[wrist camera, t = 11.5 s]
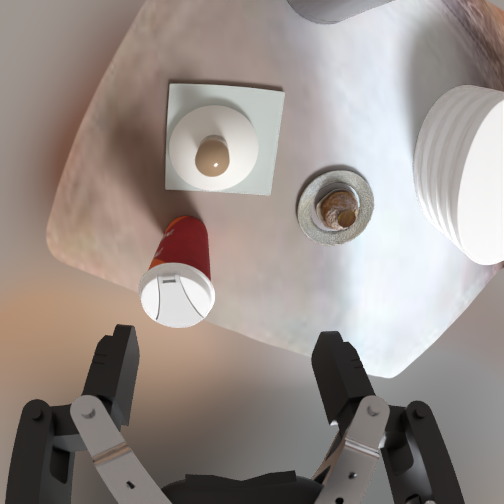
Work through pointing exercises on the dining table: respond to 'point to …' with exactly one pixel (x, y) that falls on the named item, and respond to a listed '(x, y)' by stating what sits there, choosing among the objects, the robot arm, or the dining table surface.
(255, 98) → the rubber mat
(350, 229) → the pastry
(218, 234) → the dining table surface
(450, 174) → the plate stack
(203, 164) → the cup lid
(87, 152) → the dining table surface
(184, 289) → the coffee cup
